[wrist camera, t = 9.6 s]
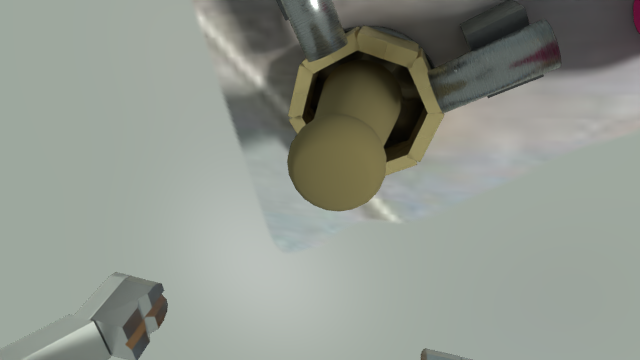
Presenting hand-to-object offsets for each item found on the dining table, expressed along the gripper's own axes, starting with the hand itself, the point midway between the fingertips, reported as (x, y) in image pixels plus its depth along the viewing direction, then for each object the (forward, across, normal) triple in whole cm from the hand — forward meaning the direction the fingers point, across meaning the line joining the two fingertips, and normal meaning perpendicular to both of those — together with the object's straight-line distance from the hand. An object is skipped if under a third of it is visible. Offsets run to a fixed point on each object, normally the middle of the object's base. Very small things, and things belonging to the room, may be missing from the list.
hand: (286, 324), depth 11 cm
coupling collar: (+20, 0, 0) cm, 20 cm away
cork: (+19, 0, 0) cm, 19 cm away
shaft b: (+20, -7, -4) cm, 21 cm away
